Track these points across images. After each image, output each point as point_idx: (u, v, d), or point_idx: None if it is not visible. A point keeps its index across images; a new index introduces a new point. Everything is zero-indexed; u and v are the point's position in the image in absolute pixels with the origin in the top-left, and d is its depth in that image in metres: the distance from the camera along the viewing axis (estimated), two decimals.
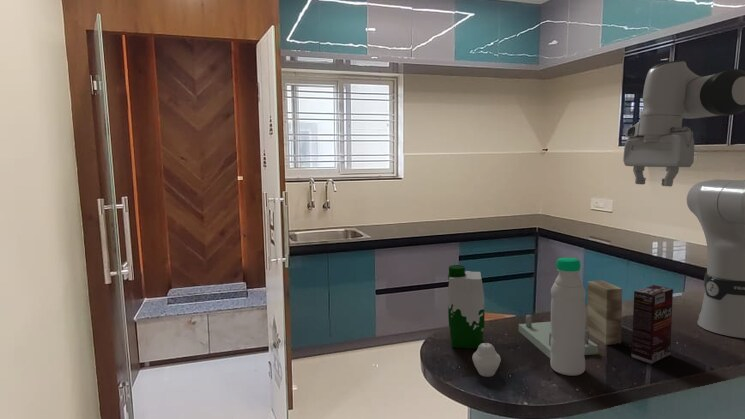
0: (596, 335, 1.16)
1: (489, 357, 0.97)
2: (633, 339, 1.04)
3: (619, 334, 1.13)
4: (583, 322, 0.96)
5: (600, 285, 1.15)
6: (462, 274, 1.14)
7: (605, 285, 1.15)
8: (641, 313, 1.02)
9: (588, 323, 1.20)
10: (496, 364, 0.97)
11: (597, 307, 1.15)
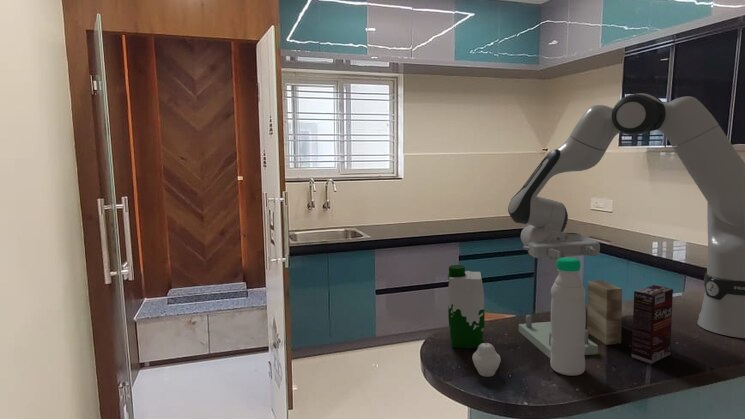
0: (596, 335, 1.16)
1: (489, 357, 0.97)
2: (633, 339, 1.04)
3: (619, 334, 1.13)
4: (583, 322, 0.96)
5: (600, 285, 1.15)
6: (462, 274, 1.14)
7: (605, 285, 1.15)
8: (641, 313, 1.02)
9: (588, 323, 1.20)
10: (496, 364, 0.97)
11: (597, 307, 1.15)
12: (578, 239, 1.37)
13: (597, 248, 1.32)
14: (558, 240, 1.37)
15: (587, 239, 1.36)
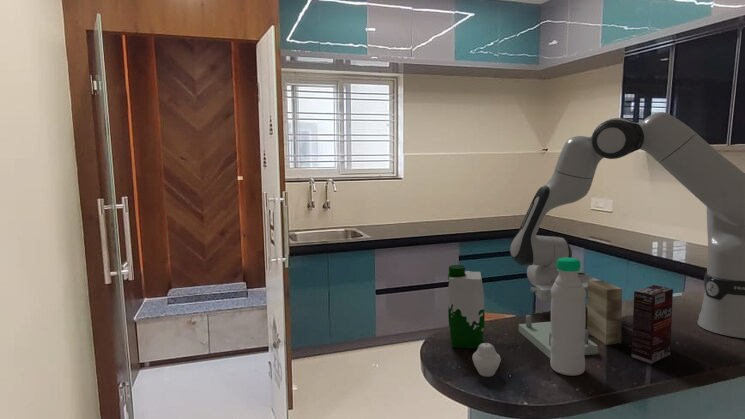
0: (596, 335, 1.16)
1: (489, 357, 0.97)
2: (633, 339, 1.04)
3: (619, 334, 1.13)
4: (583, 322, 0.96)
5: (600, 285, 1.15)
6: (462, 274, 1.14)
7: (605, 285, 1.15)
8: (641, 313, 1.02)
9: (588, 323, 1.20)
10: (496, 364, 0.97)
11: (597, 307, 1.15)
12: (586, 280, 1.34)
13: None
14: None
15: (595, 280, 1.33)
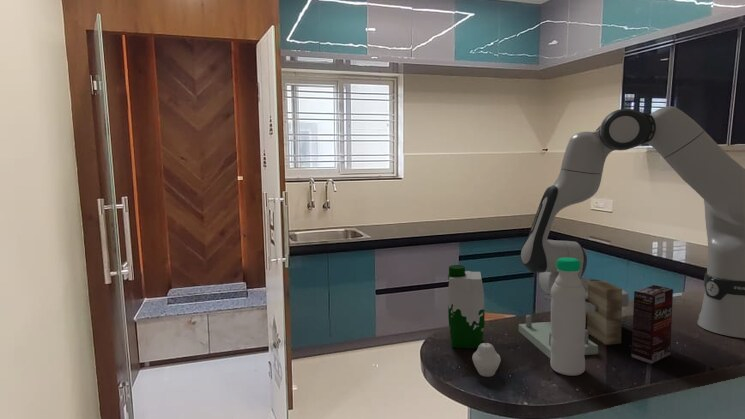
0: (596, 335, 1.16)
1: (489, 357, 0.97)
2: (633, 339, 1.04)
3: (619, 334, 1.13)
4: (583, 322, 0.96)
5: (600, 285, 1.15)
6: (462, 274, 1.14)
7: (605, 285, 1.15)
8: (641, 313, 1.02)
9: (588, 323, 1.20)
10: (496, 364, 0.97)
11: None
12: None
13: (626, 299, 1.20)
14: None
15: None
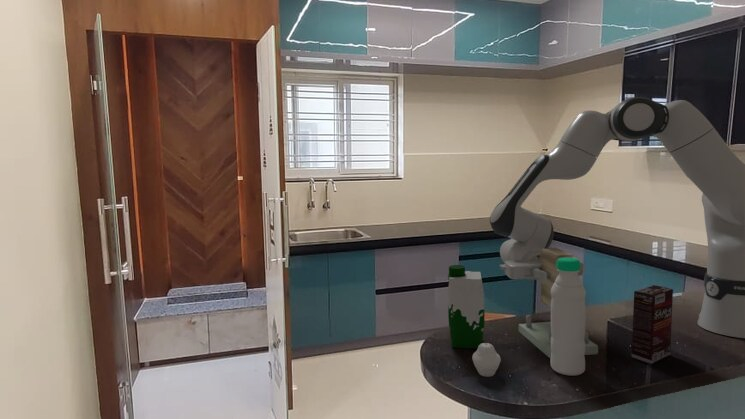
0: (548, 303, 1.14)
1: (489, 357, 0.97)
2: (633, 339, 1.04)
3: None
4: (583, 322, 0.96)
5: (552, 252, 1.13)
6: (462, 274, 1.14)
7: (557, 252, 1.12)
8: (641, 313, 1.02)
9: (541, 291, 1.18)
10: (496, 364, 0.97)
11: None
12: None
13: (581, 268, 1.18)
14: (538, 258, 1.23)
15: None
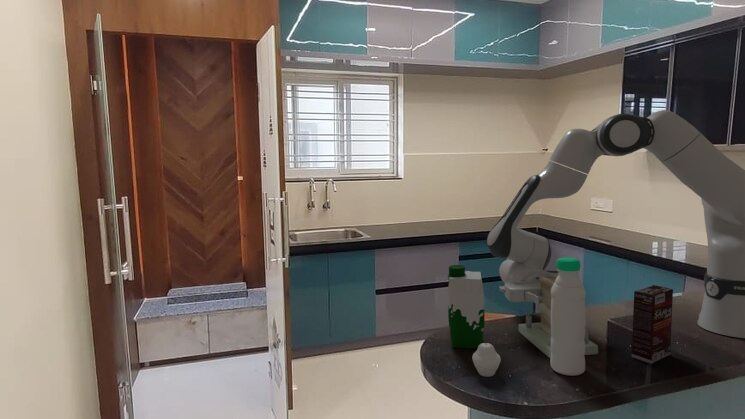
0: (548, 331, 1.15)
1: (489, 357, 0.97)
2: (633, 339, 1.04)
3: None
4: (583, 322, 0.96)
5: (551, 281, 1.13)
6: (462, 274, 1.14)
7: None
8: (641, 313, 1.02)
9: (541, 319, 1.18)
10: (496, 364, 0.97)
11: (548, 303, 1.14)
12: None
13: None
14: (537, 280, 1.23)
15: None
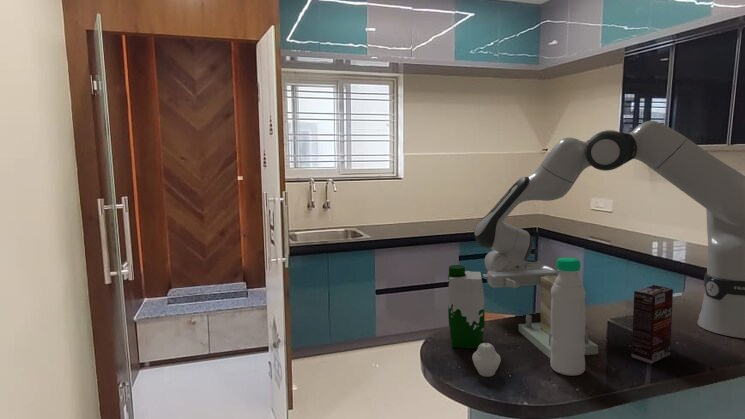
0: (548, 331, 1.15)
1: (489, 357, 0.97)
2: (633, 339, 1.04)
3: None
4: (583, 322, 0.96)
5: (551, 281, 1.13)
6: (462, 274, 1.14)
7: None
8: (641, 313, 1.02)
9: (541, 319, 1.18)
10: (496, 364, 0.97)
11: (548, 303, 1.14)
12: (537, 267, 1.37)
13: None
14: (517, 268, 1.36)
15: (546, 267, 1.35)
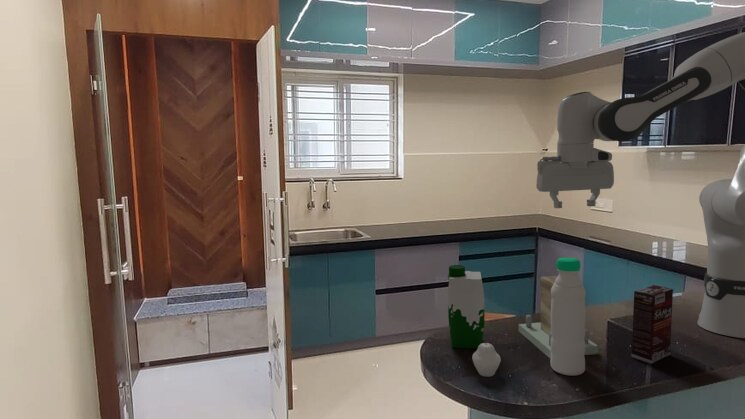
0: (548, 331, 1.15)
1: (489, 357, 0.97)
2: (633, 339, 1.04)
3: None
4: (583, 322, 0.96)
5: (551, 281, 1.13)
6: (462, 274, 1.14)
7: None
8: (641, 313, 1.02)
9: (541, 319, 1.18)
10: (496, 364, 0.97)
11: (548, 303, 1.14)
12: (601, 167, 1.19)
13: None
14: (579, 168, 1.19)
15: (609, 172, 1.19)
